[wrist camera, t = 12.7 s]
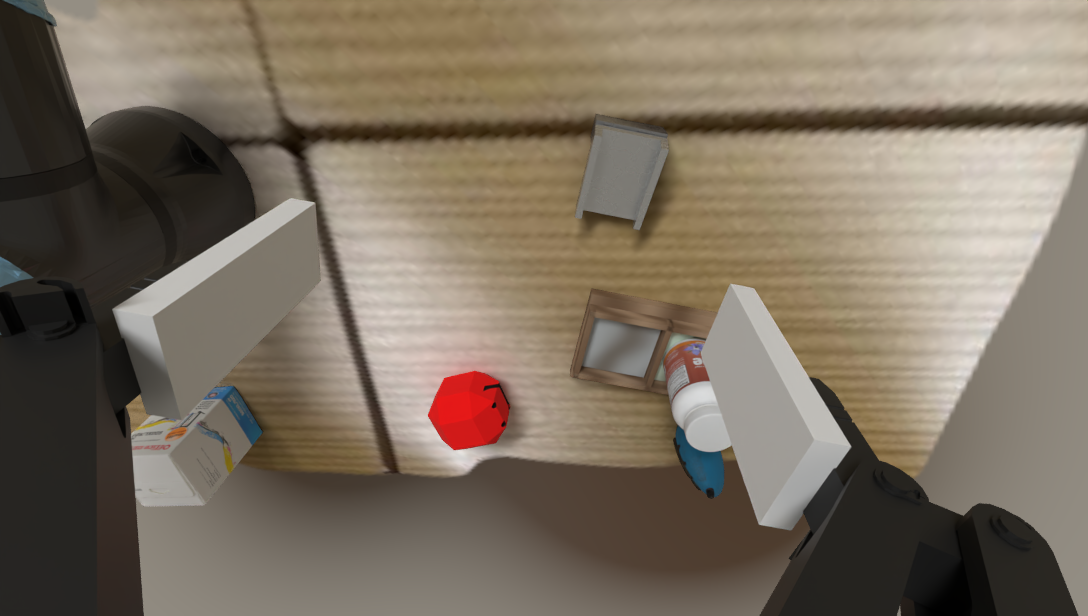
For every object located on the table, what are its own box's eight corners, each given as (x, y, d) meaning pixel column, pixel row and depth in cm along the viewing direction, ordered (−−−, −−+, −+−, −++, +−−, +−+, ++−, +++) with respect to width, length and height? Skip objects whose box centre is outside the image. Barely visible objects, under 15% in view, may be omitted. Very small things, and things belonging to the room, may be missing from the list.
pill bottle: (732, 352, 53) (764, 427, 43) (695, 389, 56) (717, 467, 46) (685, 326, 51) (708, 397, 42) (650, 365, 54) (663, 440, 45)
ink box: (235, 384, 62) (168, 455, 52) (264, 433, 67) (207, 507, 56) (175, 389, 64) (98, 459, 54) (207, 436, 68) (142, 510, 58)
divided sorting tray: (570, 369, 57) (569, 384, 55) (591, 288, 52) (591, 301, 49) (712, 396, 58) (717, 412, 55) (748, 318, 52) (756, 332, 50)
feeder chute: (575, 206, 47) (574, 225, 43) (595, 113, 43) (596, 125, 38) (636, 218, 47) (641, 239, 43) (663, 127, 43) (671, 140, 39)
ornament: (660, 414, 60) (672, 481, 51) (695, 400, 58) (714, 466, 50) (689, 456, 63) (705, 526, 54) (724, 444, 61) (746, 513, 53)
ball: (518, 406, 61) (510, 453, 54) (459, 418, 63) (445, 465, 56) (494, 356, 57) (483, 400, 50) (433, 370, 59) (413, 414, 52)
